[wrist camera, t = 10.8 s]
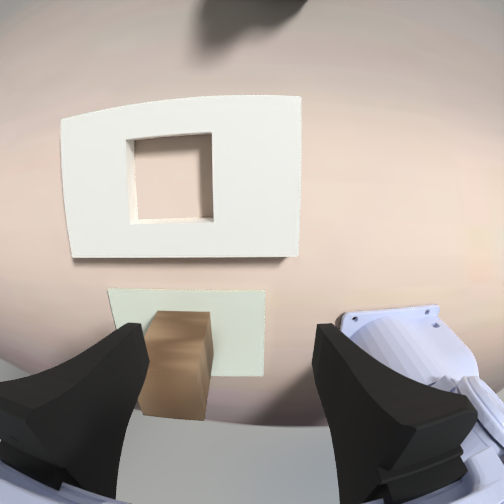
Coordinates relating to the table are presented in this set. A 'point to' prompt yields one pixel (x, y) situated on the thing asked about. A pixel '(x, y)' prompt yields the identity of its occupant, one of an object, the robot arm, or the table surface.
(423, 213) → the table surface
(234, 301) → the rubber mat
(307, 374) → the table surface
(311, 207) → the table surface
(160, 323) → the walnut plug
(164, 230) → the white square-hole board
